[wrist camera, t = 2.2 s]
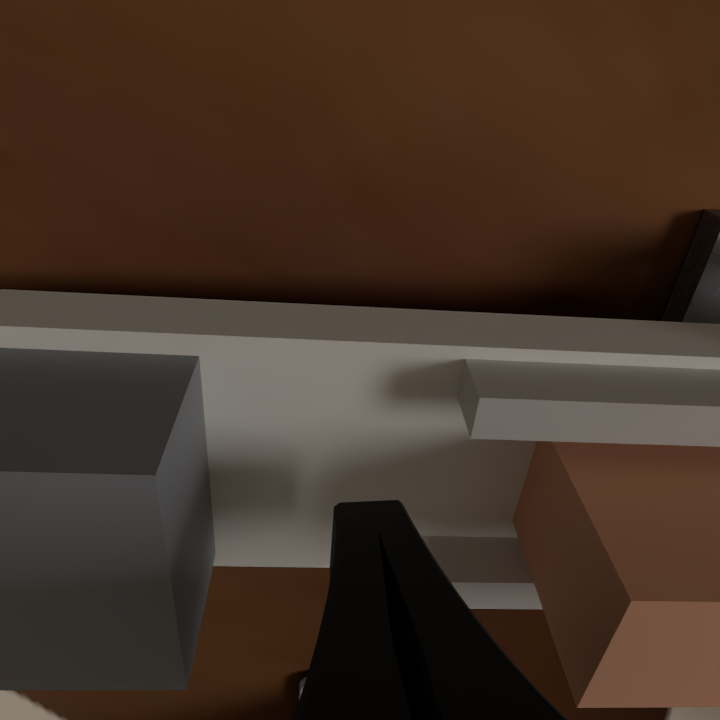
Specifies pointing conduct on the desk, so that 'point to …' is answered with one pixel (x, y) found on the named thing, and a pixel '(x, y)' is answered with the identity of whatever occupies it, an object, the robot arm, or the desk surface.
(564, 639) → the block
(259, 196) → the desk surface
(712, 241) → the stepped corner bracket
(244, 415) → the beam
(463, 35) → the desk surface
